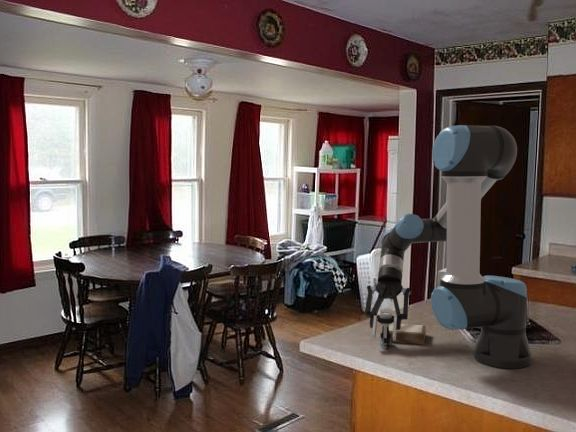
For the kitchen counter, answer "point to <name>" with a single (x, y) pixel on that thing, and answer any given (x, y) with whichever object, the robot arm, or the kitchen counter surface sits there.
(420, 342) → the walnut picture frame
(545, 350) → the kitchen counter surface
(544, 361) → the kitchen counter surface
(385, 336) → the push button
